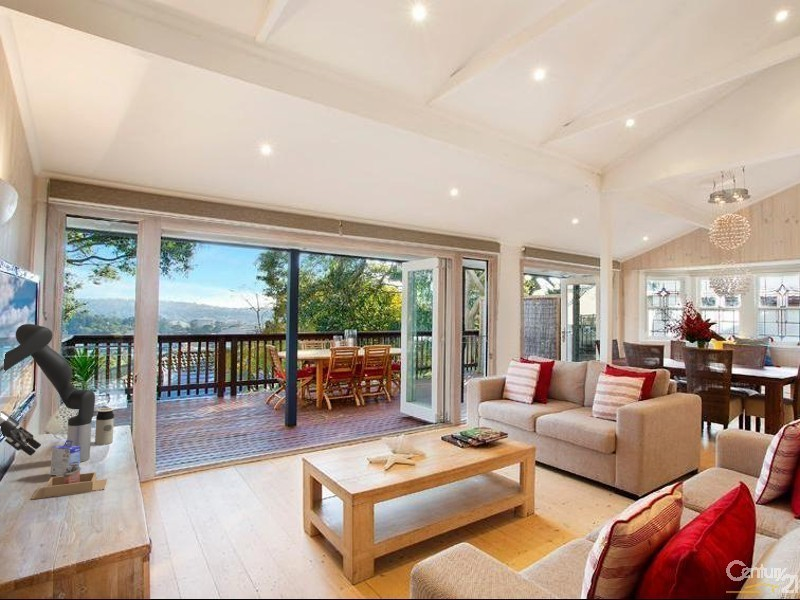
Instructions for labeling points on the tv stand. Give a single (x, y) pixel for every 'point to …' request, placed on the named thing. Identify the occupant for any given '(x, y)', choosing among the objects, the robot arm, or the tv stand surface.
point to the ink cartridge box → (64, 458)
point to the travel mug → (104, 426)
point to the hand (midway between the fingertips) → (36, 450)
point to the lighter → (72, 474)
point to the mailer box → (70, 486)
